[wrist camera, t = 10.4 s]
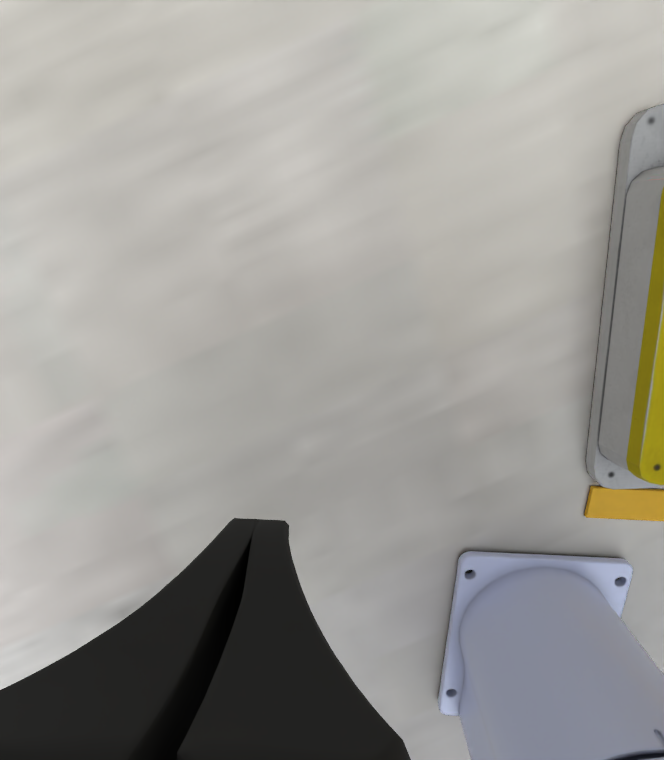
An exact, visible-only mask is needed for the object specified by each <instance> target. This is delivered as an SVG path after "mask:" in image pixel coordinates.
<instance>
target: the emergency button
mask: <svg viewBox="0 0 664 760" xmlns="http://www.w3.org/2000/svg"><path fill="white" fill-rule="evenodd" d="M586 465H587V472H588V473H589V474H590V476H591V477H592V478H593V479H594V480H595V481H596V482H597V483H599V484H600V485H601V486H602V487H605V488H609V489H613V490H614V489H638V488H661V487H664V104H661V105H658V106H655V107H652V108H649V109H647V110H644V111H642V112H639V113H636V115H635V116H634V117H633V118H632V119H631V120H630V122H629V123H628V124H627V125H626V126H625V129H624V132H623V135H622V138H621V142H620V148H619V157H618V166H617V176H616V185H615V194H614V204H613V213H612V222H611V232H610V241H609V250H608V260H607V269H606V278H605V288H604V297H603V306H602V315H601V325H600V334H599V343H598V353H597V362H596V371H595V381H594V390H593V399H592V409H591V418H590V427H589V437H588V446H587V455H586Z"/></svg>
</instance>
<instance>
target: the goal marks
mask: <svg viewBox="0 0 664 760" xmlns="http://www.w3.org/2000/svg"><path fill="white" fill-rule="evenodd" d="M584 516H585V517H587V518H608V519H629V520H649V521H664V490H662V489H642V488H638V489H614V490H613V489H609V488H605V487H601V486H591V487H590V492H589V496H588V501H587V505H586V510H585V514H584Z"/></svg>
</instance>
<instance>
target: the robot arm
mask: <svg viewBox="0 0 664 760" xmlns="http://www.w3.org/2000/svg"><path fill="white" fill-rule="evenodd" d="M288 538H289V525H288V524H287V523H286V522H285V521H281V520H260V519H239V518H234V519H233V520H232V521H230V522H229V523H228V524H227V525H226V527H225V528H224V529H223V530H222V531H221V532H220V533H219V534H218V535H217V537H216V538H215V539H214V540H213V541H212V542H211V543H210V544H209V545H208V546H207V547H206V548H205V549H204V550H203V551H202V552H201V553H200V554H199V555H198V556H197V557H196V558H195V559H194V560H193V561H192V562H191V563H190V564H189V565H188V566H187V567H186V568H185V569H184V570H183V571H182V572H181V573H180V574H179V575H178V576H177V577H175V578H174V579H173V580H172V581H171V582H170V583H169V584H168V585H166V586H165V587H164V588H163V589H162V590H161V591H160V592H159V593H157V594H156V595H155V596H154V597H153V598H151V599H150V600H149V601H148V602H146V603H145V604H144V605H143V606H141V607H140V608H139V609H137V610H136V611H135V612H133V613H132V614H131V615H129V616H128V617H127V618H125V619H124V620H122V621H121V622H120V623H118V624H117V625H115V626H114V627H112V628H110V629H109V630H107V631H106V632H104V633H103V634H101V635H99V636H98V637H96V638H95V639H93V640H91V641H90V642H88V643H87V644H85V645H84V646H82V647H80V648H79V649H77V650H76V651H74V652H72V653H71V654H69V655H67V656H65V657H63V658H62V659H60V660H58V661H56V662H54V663H53V664H51V665H49V666H47V667H45V668H43V669H42V670H40V671H38V672H36V673H34V674H32V675H30V676H28V677H26V678H24V679H22V680H20V681H18V682H16V683H14V684H12V685H10V686H8V687H6V688H4V689H2V690H0V760H411V759H410V757H409V754H408V752H407V749H406V747H405V744H404V742H403V740H402V739H401V738H400V737H399V736H398V734H397V733H396V732H395V731H394V730H393V729H392V728H391V727H390V726H389V725H388V724H387V723H386V722H385V720H384V719H383V718H382V717H381V716H380V715H379V713H378V712H377V711H376V710H375V709H374V708H373V706H372V705H371V704H370V703H369V701H368V700H367V699H366V698H365V696H364V695H363V694H362V693H361V691H360V690H359V689H358V687H357V686H356V685H355V684H354V682H353V681H352V679H351V678H350V676H349V675H348V673H347V672H346V670H345V669H344V667H343V666H342V664H341V663H340V662H339V660H338V659H337V657H336V656H335V654H334V653H333V651H332V649H331V648H330V646H329V644H328V642H327V641H326V639H325V637H324V636H323V634H322V632H321V630H320V628H319V626H318V624H317V622H316V620H315V618H314V616H313V614H312V612H311V610H310V608H309V605H308V603H307V601H306V598H305V596H304V593H303V591H302V588H301V585H300V583H299V580H298V577H297V573H296V570H295V567H294V564H293V560H292V556H291V552H290V546H289V540H288ZM467 570H473V571H472V572H471V573H469V574H466V573H465V572H466V571H467ZM632 574H633V567H632V565H631V564H630V563H629V562H628V561H627V560H625V559H622V558H604V557H583V556H561V555H540V554H519V553H498V552H476V551H469V552H465V553H463V554H462V555H461V556H460V558H459V561H458V568H457V575H456V582H455V588H454V595H453V602H452V609H451V616H450V622H449V629H448V636H447V643H446V650H445V656H444V663H443V670H442V677H441V684H440V690H439V697H438V706H439V710H440V712H441V713H443V714H444V715H454V716H460V720H461V724H462V727H463V731H464V735H465V738H466V742H467V746H468V750H469V753H470V757H471V760H664V674H663V673H662V672H661V670H660V669H659V668H658V667H657V665H656V664H655V663H654V661H653V660H652V659H651V657H650V656H649V655H648V653H647V652H646V651H645V650H644V648H643V647H642V646H641V644H640V643H639V642H638V640H637V639H636V638H635V637H634V635H633V634H632V633H631V631H630V630H629V629H628V627H627V626H626V625H625V623H624V622H623V621H622V620H621V615H622V612H623V608H624V604H625V600H626V597H627V593H628V589H629V585H630V582H631V578H632ZM618 577H620V579H618V580H616V579H617V578H618ZM449 689H452V690H449Z"/></svg>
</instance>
